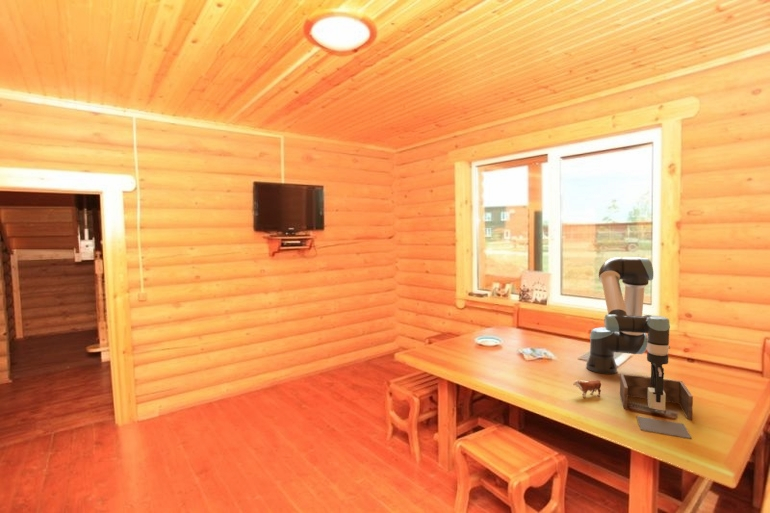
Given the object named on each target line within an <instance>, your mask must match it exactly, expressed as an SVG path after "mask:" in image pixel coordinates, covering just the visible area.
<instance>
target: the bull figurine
mask: <svg viewBox="0 0 770 513" xmlns="http://www.w3.org/2000/svg"><path fill="white" fill-rule="evenodd" d="M572 385H573V386H576V387H577V388H578V389H579V390H580V391H582V393H583V394H582V398H583V399H585V398H586V397H587V396H586V395H587V392H588V391H589V392H590V394H589V395H591V396H592V395H593V394H594V392H598V394H597V397H600V396H601V391H602V390H601V386H602V384H601V381H600V380H599V379H597V380H583V379H582V380H580V379H576V380H574V382H573V383H572Z"/></svg>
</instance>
